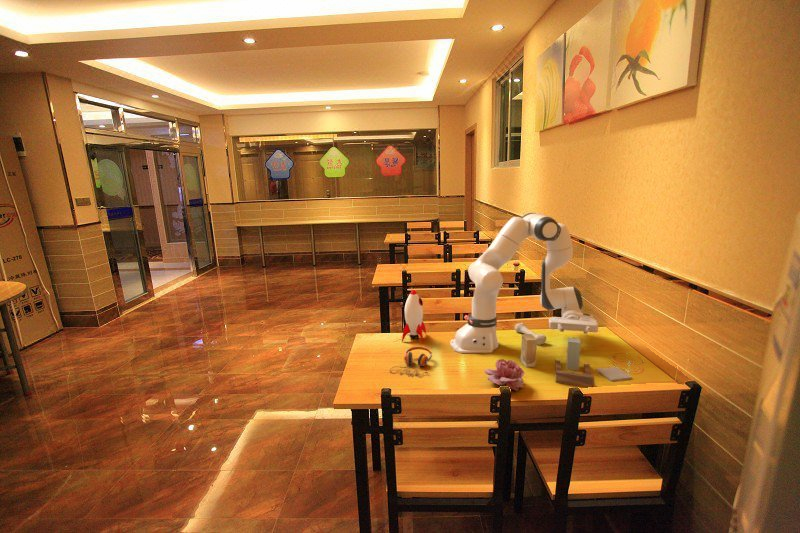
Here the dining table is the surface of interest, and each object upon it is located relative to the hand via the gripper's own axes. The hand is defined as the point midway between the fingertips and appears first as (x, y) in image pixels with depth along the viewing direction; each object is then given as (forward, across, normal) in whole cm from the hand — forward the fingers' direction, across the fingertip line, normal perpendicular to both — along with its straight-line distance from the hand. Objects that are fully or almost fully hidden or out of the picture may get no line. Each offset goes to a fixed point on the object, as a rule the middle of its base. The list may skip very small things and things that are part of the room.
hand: (573, 331), depth 175 cm
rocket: (+2, -72, +10) cm, 73 cm away
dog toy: (-15, -19, +12) cm, 27 cm away
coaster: (+14, +14, +11) cm, 23 cm away
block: (+12, -1, +11) cm, 17 cm away
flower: (+36, -25, +11) cm, 45 cm away
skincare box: (+14, -18, +11) cm, 26 cm away
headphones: (+31, -63, +10) cm, 71 cm away
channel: (+19, -1, +11) cm, 22 cm away
